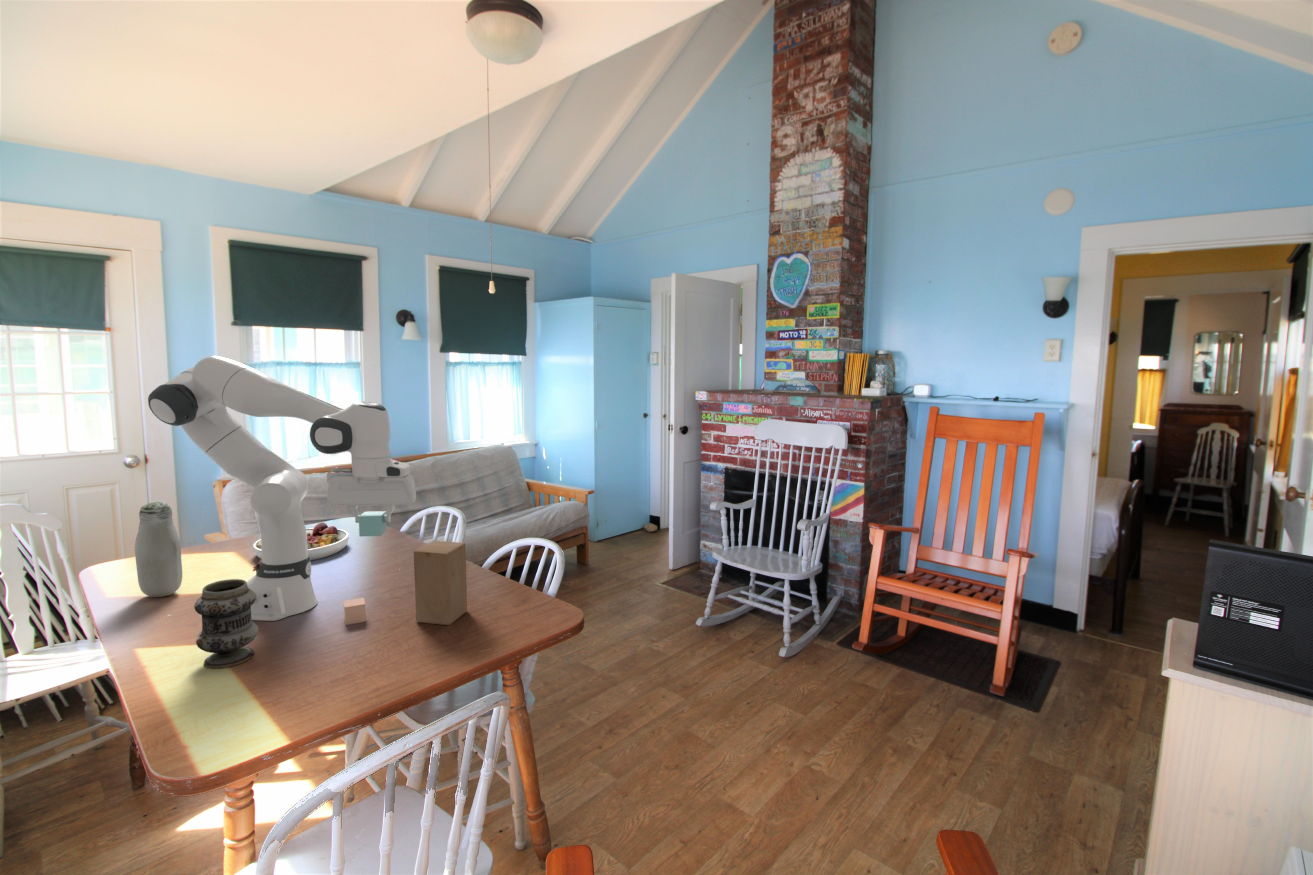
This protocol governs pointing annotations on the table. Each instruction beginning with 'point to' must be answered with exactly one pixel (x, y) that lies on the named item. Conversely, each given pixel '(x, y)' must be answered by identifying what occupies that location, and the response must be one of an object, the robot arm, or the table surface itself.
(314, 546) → the bowl
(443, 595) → the wooden block
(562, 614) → the table surface
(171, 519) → the grey rounded bottle
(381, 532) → the teal cube
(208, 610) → the apothecary jar
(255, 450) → the robot arm
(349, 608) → the clay block
